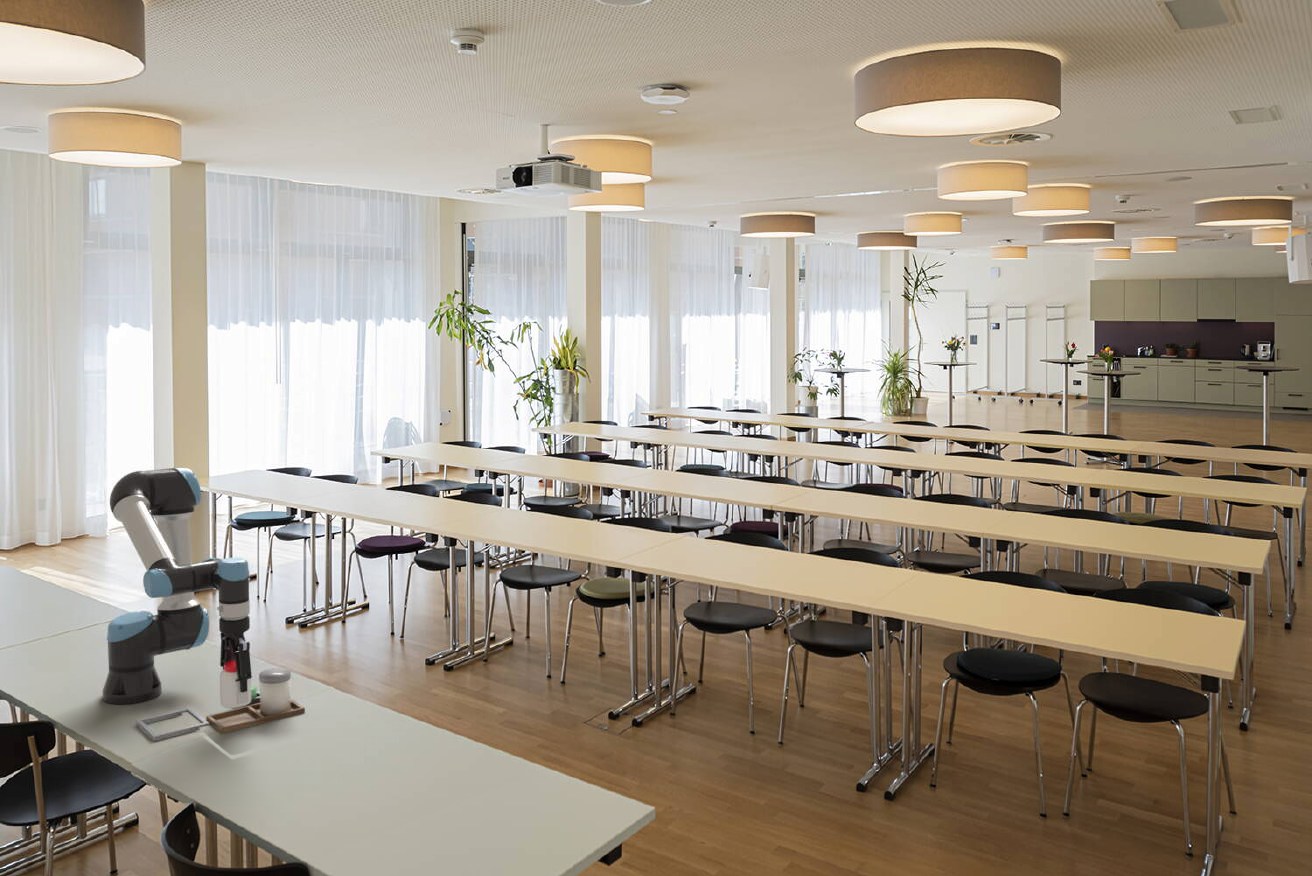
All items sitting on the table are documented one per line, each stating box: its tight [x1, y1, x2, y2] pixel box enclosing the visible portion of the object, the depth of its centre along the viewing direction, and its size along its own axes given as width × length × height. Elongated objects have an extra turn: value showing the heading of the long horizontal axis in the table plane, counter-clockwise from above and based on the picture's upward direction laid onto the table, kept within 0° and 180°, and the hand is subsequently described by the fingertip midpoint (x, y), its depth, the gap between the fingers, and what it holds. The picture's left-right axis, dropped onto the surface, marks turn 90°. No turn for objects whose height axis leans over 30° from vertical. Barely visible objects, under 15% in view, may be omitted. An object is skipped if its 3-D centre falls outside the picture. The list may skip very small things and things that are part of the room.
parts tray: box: [135, 707, 211, 742], centre depth 267 cm, size 14×14×1 cm
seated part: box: [258, 667, 292, 716], centre depth 276 cm, size 8×8×11 cm
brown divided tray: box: [205, 698, 306, 735], centre depth 273 cm, size 12×22×2 cm, turn 134°
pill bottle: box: [219, 660, 252, 709], centre depth 268 cm, size 8×8×11 cm
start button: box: [251, 685, 258, 698], centre depth 282 cm, size 4×4×4 cm
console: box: [238, 689, 260, 708], centre depth 282 cm, size 7×7×3 cm
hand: (236, 698), depth 269 cm, fingers closed on pill bottle, 8 cm apart
